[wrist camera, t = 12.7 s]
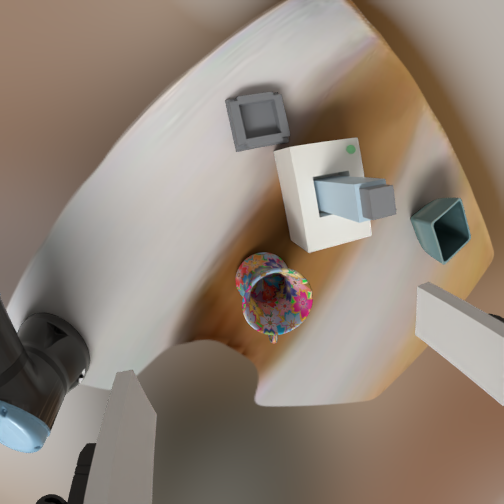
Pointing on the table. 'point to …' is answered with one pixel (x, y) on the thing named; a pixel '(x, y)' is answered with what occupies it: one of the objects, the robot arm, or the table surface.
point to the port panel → (304, 197)
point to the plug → (355, 197)
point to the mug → (272, 294)
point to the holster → (257, 120)
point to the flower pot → (442, 228)
